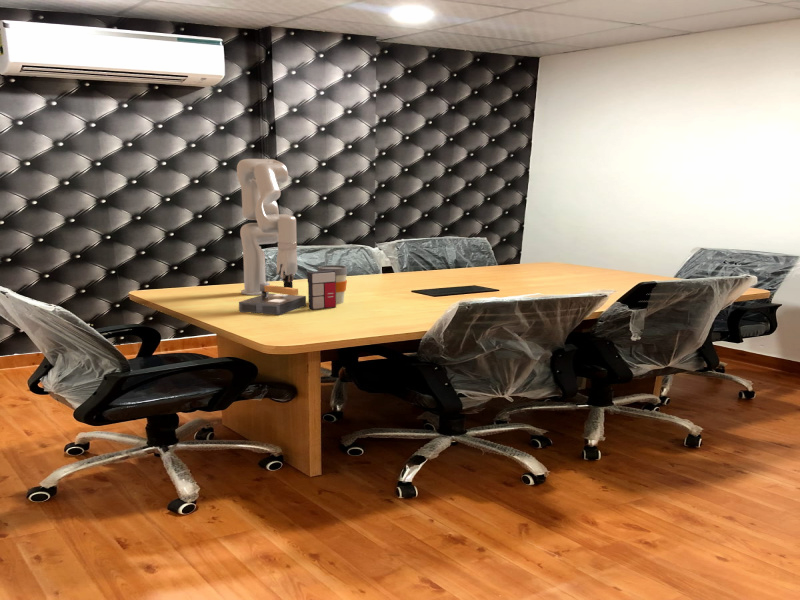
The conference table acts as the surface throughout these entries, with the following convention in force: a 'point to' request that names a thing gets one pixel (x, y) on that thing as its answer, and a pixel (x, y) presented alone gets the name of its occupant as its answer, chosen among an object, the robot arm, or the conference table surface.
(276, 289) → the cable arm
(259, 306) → the server box
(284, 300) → the label
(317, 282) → the grey and red box
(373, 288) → the conference table surface
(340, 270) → the reusable coffee cup
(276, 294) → the label
